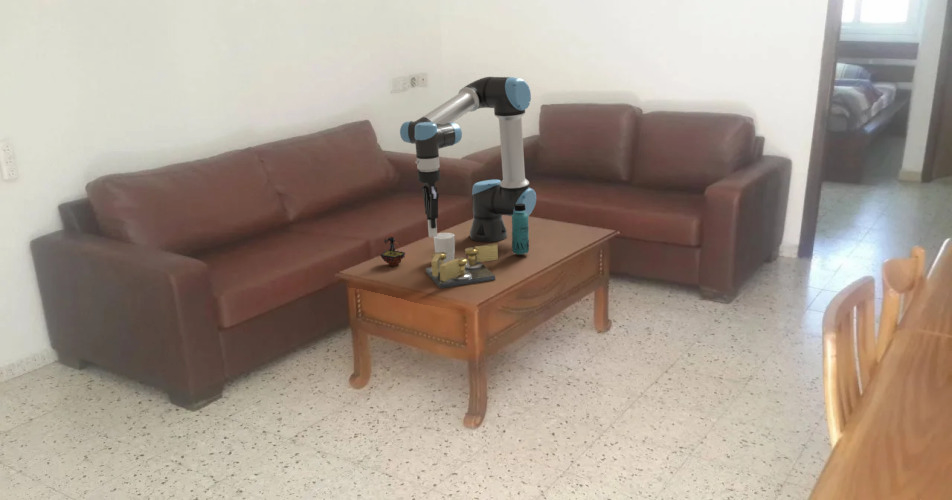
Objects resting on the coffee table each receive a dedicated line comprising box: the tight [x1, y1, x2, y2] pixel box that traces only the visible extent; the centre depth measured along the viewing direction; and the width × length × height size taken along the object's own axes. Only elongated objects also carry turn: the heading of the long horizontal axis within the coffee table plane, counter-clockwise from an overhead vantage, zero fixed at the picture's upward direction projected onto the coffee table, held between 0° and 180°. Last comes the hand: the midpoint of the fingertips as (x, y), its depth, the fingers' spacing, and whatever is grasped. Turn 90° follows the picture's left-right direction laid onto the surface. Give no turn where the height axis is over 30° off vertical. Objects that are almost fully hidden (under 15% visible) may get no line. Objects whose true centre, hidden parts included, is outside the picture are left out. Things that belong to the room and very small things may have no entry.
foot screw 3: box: [464, 243, 499, 265], centre depth 284 cm, size 12×5×6 cm, turn 109°
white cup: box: [433, 232, 456, 263], centre depth 294 cm, size 8×8×10 cm
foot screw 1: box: [431, 252, 446, 276], centre depth 276 cm, size 12×5×6 cm, turn 172°
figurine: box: [380, 234, 406, 267], centre depth 292 cm, size 10×8×12 cm
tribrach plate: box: [425, 261, 496, 289], centre depth 279 cm, size 20×18×3 cm
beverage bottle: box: [511, 203, 530, 255], centre depth 295 cm, size 6×7×20 cm
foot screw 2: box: [440, 257, 469, 281], centre depth 270 cm, size 12×5×6 cm, turn 139°
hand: (433, 236), depth 272 cm, fingers closed
